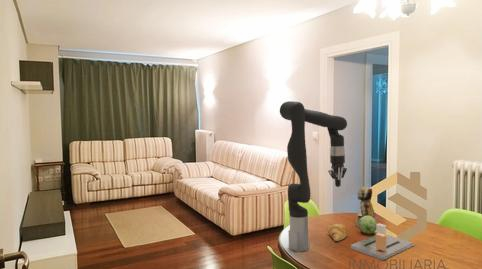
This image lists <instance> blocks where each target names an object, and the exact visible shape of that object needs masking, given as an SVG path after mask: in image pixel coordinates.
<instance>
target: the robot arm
mask: <svg viewBox="0 0 482 269" xmlns="http://www.w3.org/2000/svg"><path fill="white" fill-rule="evenodd" d="M279 115H280V116H281V117H282V118H283V119H284V120H285V121H286V120H287V121H290V122H291V135H290V137H289V139H288V142H287V148H286V150H287V151H286V152H287V160H288V163H289V164H290V166H291V167H292V169H293V170H294V172H295V173H296V174H297V176H298V178H299V181H300V183H290V184H289V185H288V186H287V187H288V188H287V202H288V212H289V214H288V215H289V230H288V249H289V250H291V249H292V251H294V252H296V253H299V252H306V251H308V250H309V244H310V242H309V215H308V214H309V212H308V209H307V208H306V207H304V206H302V205H300V204H299V203H302V204H307V203H309V202H310V200H311V187H310V186H311V185H310V180H309V179H310V178H309V172H308V157H307V146H306V131H305V129H306V123H308V124H312V125H315V126H319V127H321V128H322V127H323V128H327V132H328V135H329V138H330V148H329V160H330V164H331V169H329V170H328V171H327V172H328V173H329V176H330V177H331V179H333V180H334V186H335V187H336V188H337V187H338V188H339V187H341V185H342V184H341V182H342V181H341V180H342V179H344V177H345V175H346V173H347V170H348V168H346V167H345V165H344V164H345V163H346V151H345V150H346V148H345V139H344V138H345V137H344V135H342V134H340V133H339V131H343V130H346V128H347V126H348V121H347V119H346V118H344V117H343V116H340V115H333V114H329V113H327V112H326V113H325V112H322V111H317V110H311V109H307V108H305V106H304V105H303V103H302V102H301V101H285V102H283V103H281V106H280V107H279Z"/></svg>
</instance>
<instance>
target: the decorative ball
mask: <svg viewBox="0 0 482 269" xmlns="http://www.w3.org/2000/svg"><path fill="white" fill-rule="evenodd" d="M376 224H378V222H377V220H376V218H375V219H374V218H373V217H371V216H364V217H362V218H361V219H360V221H359V227H358V228H359V230H361V232H362V233H364V234H368V235H371V234H374V233H376Z"/></svg>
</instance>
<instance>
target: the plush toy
mask: <svg viewBox="0 0 482 269" xmlns="http://www.w3.org/2000/svg"><path fill="white" fill-rule="evenodd" d="M357 191H358V192H357V193H356V194H357V199H358V200H360V204H359V205H360V206H359V210H357V213H356V215H357V218H356V221H355V224H354V225H355V227H357V228H359V221H360V219H361V218H362V217H364V216H371V217H373V218H374V219H375V220H376V218H375V217H376V213H375V210H374V207H373V206H374V205H373V203H372V201H371V200H372V197H373V189H372V188H369V187H367V186H361V187H360V188H359V189H358V190H357Z"/></svg>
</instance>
